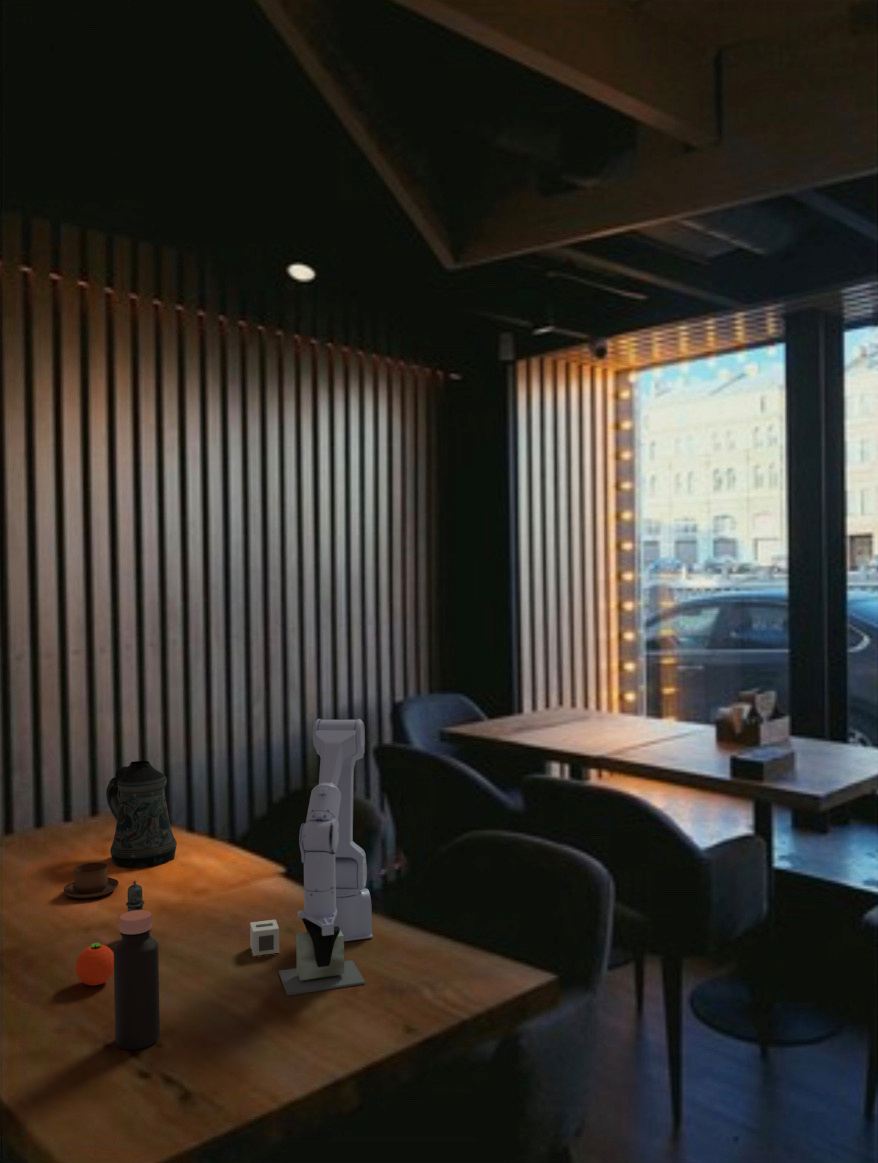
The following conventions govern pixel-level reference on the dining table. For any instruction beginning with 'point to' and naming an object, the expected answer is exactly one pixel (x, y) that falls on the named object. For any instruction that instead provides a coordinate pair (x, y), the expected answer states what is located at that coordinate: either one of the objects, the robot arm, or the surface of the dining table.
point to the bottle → (136, 982)
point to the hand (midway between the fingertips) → (320, 960)
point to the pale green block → (307, 959)
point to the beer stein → (140, 817)
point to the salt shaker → (135, 898)
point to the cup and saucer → (91, 881)
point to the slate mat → (320, 980)
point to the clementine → (95, 964)
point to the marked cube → (264, 937)
